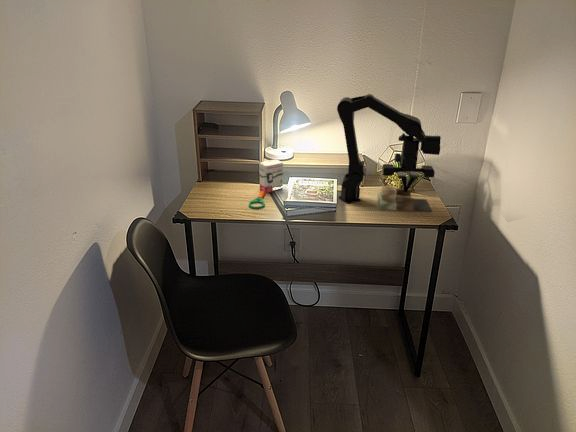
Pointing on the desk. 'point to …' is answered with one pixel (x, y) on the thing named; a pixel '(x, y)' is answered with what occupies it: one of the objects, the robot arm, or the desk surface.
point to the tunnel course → (403, 202)
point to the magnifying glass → (258, 201)
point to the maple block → (388, 193)
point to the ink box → (270, 175)
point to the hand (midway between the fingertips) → (405, 191)
